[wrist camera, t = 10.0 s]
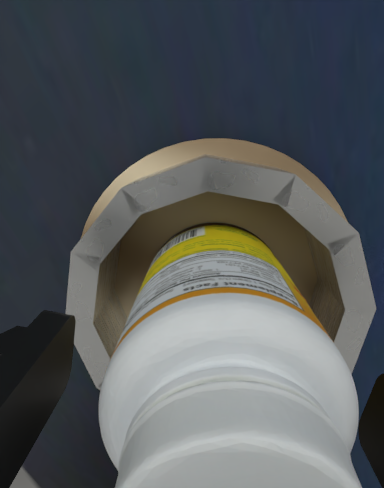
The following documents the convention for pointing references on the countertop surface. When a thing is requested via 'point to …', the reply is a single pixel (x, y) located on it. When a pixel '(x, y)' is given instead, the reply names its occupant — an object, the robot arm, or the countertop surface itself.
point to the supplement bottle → (226, 375)
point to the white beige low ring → (229, 183)
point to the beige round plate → (212, 214)
